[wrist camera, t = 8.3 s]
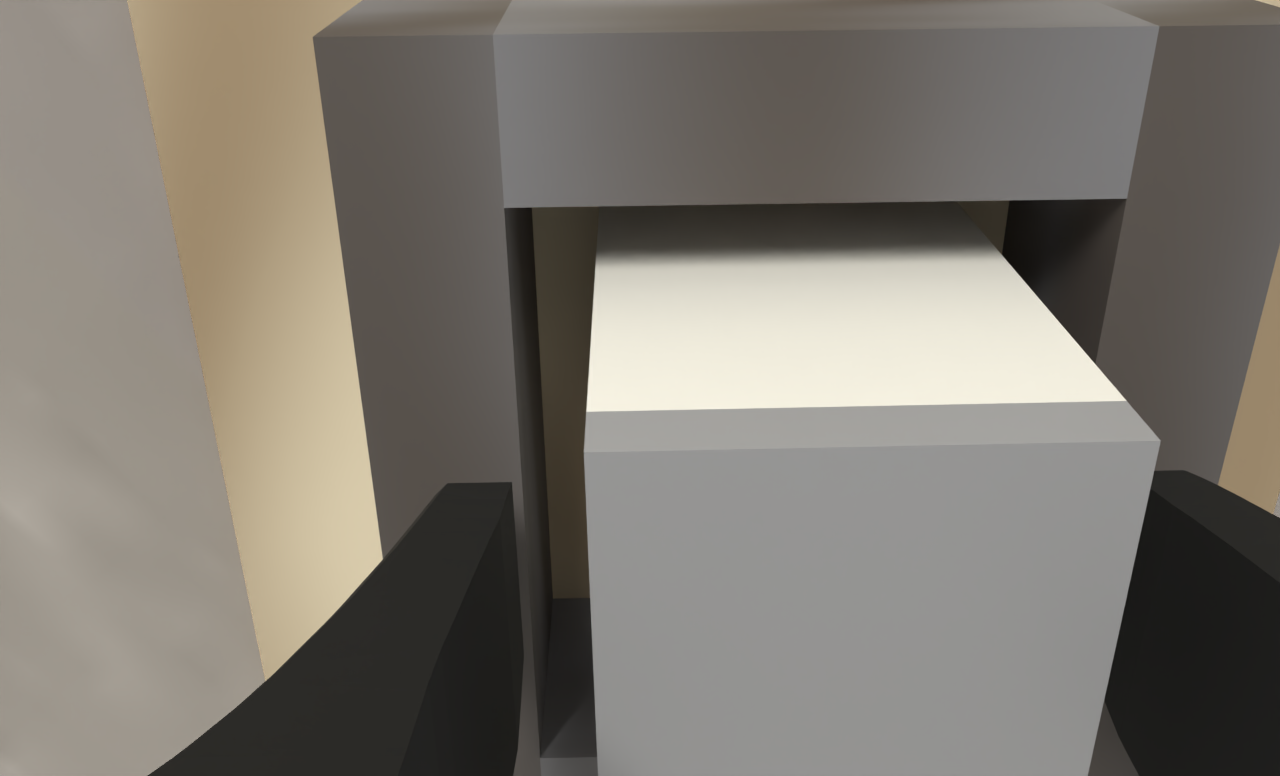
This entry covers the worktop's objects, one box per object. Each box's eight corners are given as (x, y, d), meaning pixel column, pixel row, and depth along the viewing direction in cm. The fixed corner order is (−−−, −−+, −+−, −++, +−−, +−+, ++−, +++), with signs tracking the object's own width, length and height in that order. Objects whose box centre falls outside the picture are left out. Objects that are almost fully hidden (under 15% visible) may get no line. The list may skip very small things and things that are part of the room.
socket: (1446, -203, 12) (1739, -207, 9) (1189, 731, 18) (1311, 927, 15) (108, -189, 12) (-73, -189, 9) (292, 750, 18) (222, 951, 15)
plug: (944, 186, 13) (1160, 441, 8) (905, 544, 16) (1054, 929, 10) (600, 194, 13) (583, 453, 8) (611, 549, 15) (605, 939, 10)
